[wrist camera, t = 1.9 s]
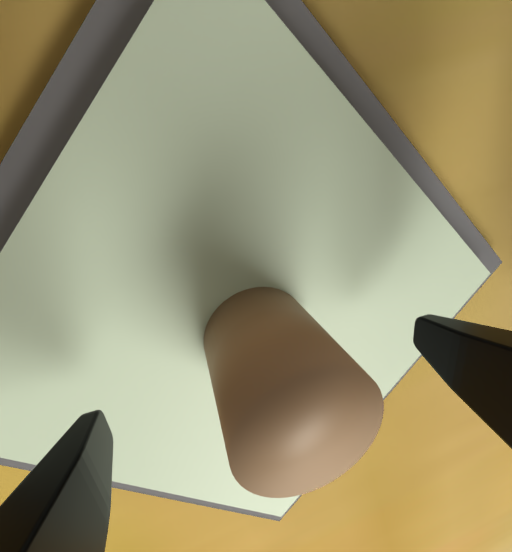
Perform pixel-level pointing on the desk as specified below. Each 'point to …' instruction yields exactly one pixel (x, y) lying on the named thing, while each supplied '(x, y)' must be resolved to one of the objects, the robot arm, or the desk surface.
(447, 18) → the desk surface
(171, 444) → the lid
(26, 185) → the mat
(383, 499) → the desk surface
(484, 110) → the desk surface
